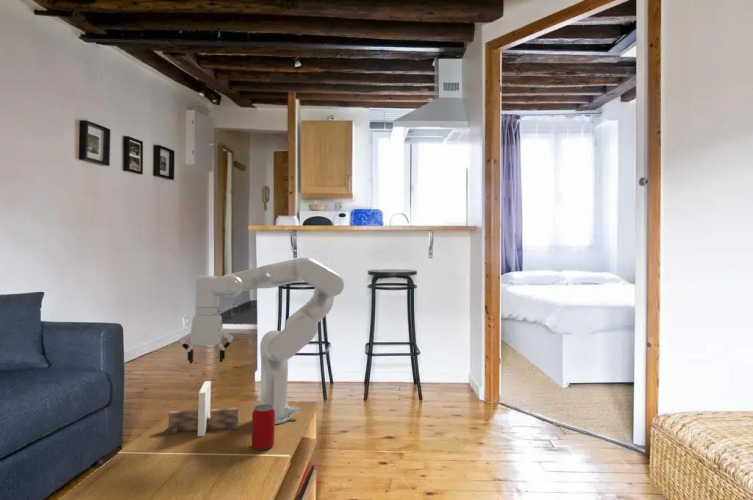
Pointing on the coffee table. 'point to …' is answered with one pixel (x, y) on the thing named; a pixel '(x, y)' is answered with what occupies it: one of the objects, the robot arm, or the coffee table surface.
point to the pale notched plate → (204, 407)
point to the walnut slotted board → (217, 420)
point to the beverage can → (263, 427)
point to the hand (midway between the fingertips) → (206, 362)
